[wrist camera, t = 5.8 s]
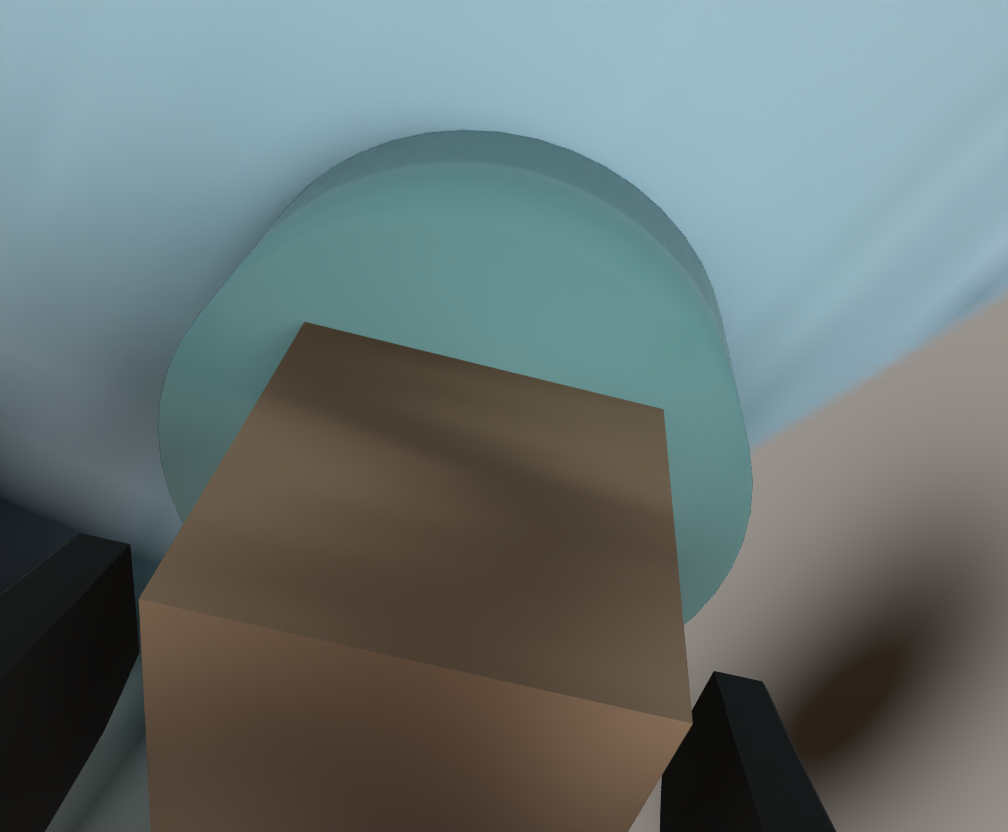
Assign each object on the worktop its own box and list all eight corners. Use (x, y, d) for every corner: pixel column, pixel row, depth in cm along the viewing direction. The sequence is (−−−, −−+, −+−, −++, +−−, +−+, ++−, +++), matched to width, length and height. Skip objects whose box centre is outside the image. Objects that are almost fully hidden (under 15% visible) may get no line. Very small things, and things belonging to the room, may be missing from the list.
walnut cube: (281, 571, 14) (153, 871, 10) (305, 320, 11) (138, 599, 7) (568, 637, 15) (553, 955, 11) (663, 407, 12) (692, 723, 8)
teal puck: (241, 482, 19) (163, 623, 15) (261, 63, 13) (149, 142, 10) (636, 576, 19) (641, 732, 16) (806, 202, 14) (865, 323, 11)
